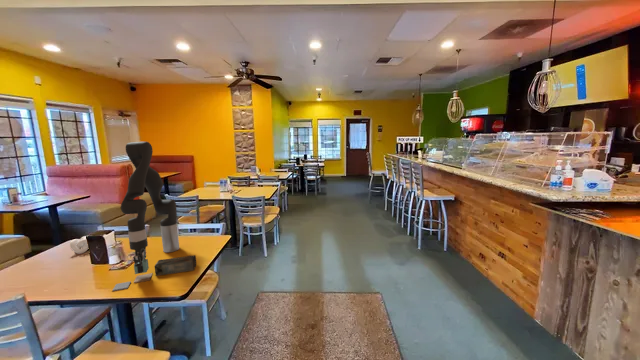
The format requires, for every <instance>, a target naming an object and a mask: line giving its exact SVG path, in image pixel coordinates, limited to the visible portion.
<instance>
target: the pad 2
mask: <svg viewBox="0 0 640 360" xmlns="http://www.w3.org/2000/svg"><path fill="white" fill-rule="evenodd" d="M152 276H153V272H151V273H145V274H144V273H143V274H137V275H136V277H135V279H134V281H133V284H137V283H144V282H150V281H151V279H152Z"/></svg>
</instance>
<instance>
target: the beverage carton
mask: <svg viewBox="0 0 640 360" xmlns="http://www.w3.org/2000/svg"><path fill="white" fill-rule="evenodd" d="M196 257H197V256H196V255H195V254H193V255H186V256H180V257H174V258H164V259H158V261H157V262H156V263H155V264H154V274H155V276H163V275H170V274H179V273H184V272H193V271H195V268H196V266H197V258H196Z"/></svg>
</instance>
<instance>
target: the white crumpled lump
mask: <svg viewBox="0 0 640 360" xmlns="http://www.w3.org/2000/svg"><path fill="white" fill-rule="evenodd" d="M69 248H70V249H71V251H73V252H74V253H75V254H79V255H81V254H84V253H86V252H87V250H88V245H87V240H86V235H84V236H82V237H80V239H78V238H75V239H72V240H71V241H70V242H69ZM88 251H89V250H88Z"/></svg>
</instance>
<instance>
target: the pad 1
mask: <svg viewBox="0 0 640 360" xmlns="http://www.w3.org/2000/svg"><path fill="white" fill-rule="evenodd" d="M130 285H131V281H126V282H121V283H116V284H115V285H114V287H113V288H112V291H111V292H116V291H121V290H127V289H128V288H129V286H130Z"/></svg>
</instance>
